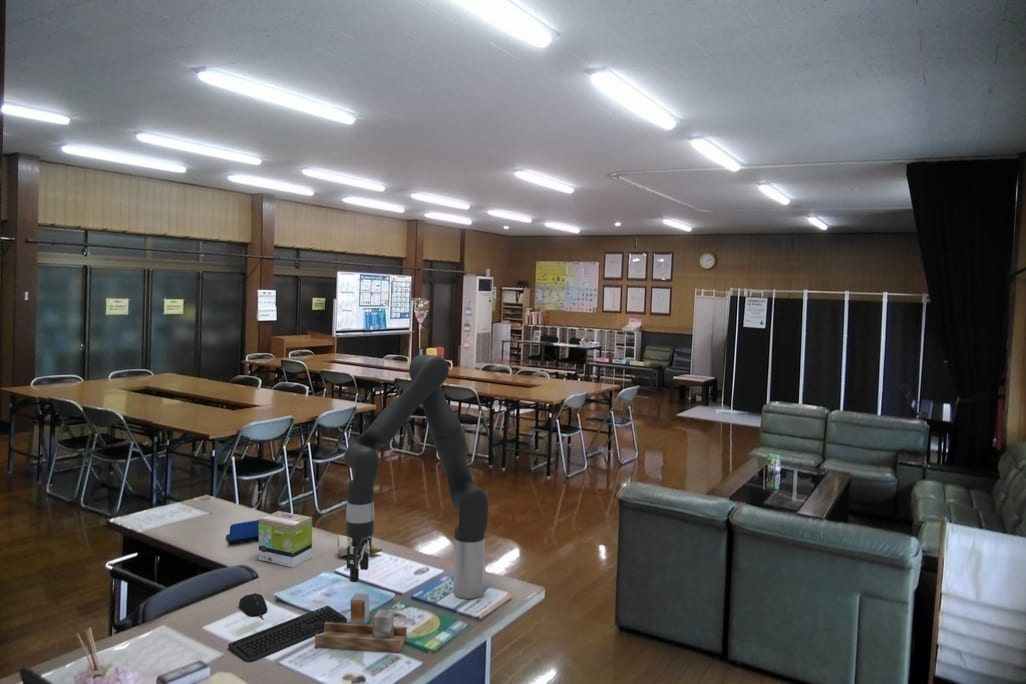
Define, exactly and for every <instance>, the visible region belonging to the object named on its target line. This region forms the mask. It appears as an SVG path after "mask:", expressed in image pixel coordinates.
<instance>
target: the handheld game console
mask: <svg viewBox="0 0 1026 684" xmlns="http://www.w3.org/2000/svg"><path fill="white" fill-rule="evenodd" d="M225 538H226V540H227V543H228V545H229V546H233V545H234V546H235V545H239V544H240V545H241V544H246V543H249V542H259V519H256V520H255V519H254V520H250V521H244V522H243V521H242V522H238V523H236V522H235V523H233V524H231V525H230V527H229V533H228V534H225Z"/></svg>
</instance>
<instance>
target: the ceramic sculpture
mask: <svg viewBox="0 0 1026 684" xmlns="http://www.w3.org/2000/svg"><path fill="white" fill-rule="evenodd" d="M351 542H352V538H350V537H348V536H347V535H344V534H343V535H341V534H338V535H337V549H338V551H337V553H338V556H339V557H341V558H342V557H347V547H348V546H351ZM382 551H383V549H382V548H380V549H378V548H377V547H375V546H374V545H373V544H372V550H371V551H370V555H375V554H377V553H380V552H382Z"/></svg>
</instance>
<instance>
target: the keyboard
mask: <svg viewBox="0 0 1026 684" xmlns="http://www.w3.org/2000/svg"><path fill="white" fill-rule="evenodd" d="M347 620H348V618H347V617H346V616H344V615H343V614H342V613H340V612H339V611H337V610H336V609H334V608H333V607H331V606H330V605H326V606H322V607H320V608H317V609H315V610H312V611H310V612H306V613H304V614H302V615H299V616H297V617H294V618H291V619H289V620H286V621H283V622H281V623H279V624H275V625H273V626H271V627H268V628H265V629H263V630H260V631H258V632H257V631H256V632H255V633H253V634H250V635H247V636H245V637H241V638H240V639H237V640H234V641H231V642H229V643H228V646H227V647H228V650H229V651H230V652H231V653H233V654H234V655H236V656H237V657H239V659H241V660H242V661H243V662H245V663H253V662H257V661H259V660H261V659H264V658H266V657H269V656H271V655H274V654H276V653H279V652H281V651H283V650H286V649H288V648H290V647H292V646H295V645H298V644H301V643H302V642H304V641H307V640H310V639H312V638H315V635H316V634H322V633H323V632H324V624H325V622H336V623H348V622H347Z"/></svg>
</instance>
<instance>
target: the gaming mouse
mask: <svg viewBox="0 0 1026 684" xmlns="http://www.w3.org/2000/svg"><path fill="white" fill-rule="evenodd" d="M238 607H239V609H241V610H242V612H244V614H245V615H246V616H248V617H259V618H260V620H263V621H264V617H263V615H264V614H267V612H268V606H267V603H266V599H265V598H264V596H263V595H262V594H261V593H260V594H259V593H256V592H255V593H251V594H247V595H243V597H241V598H240V599H239V603H238Z"/></svg>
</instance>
